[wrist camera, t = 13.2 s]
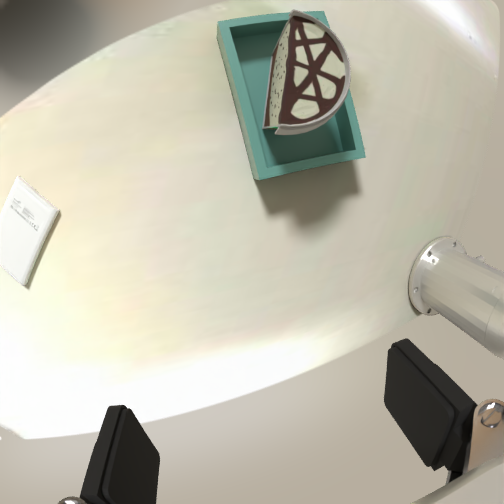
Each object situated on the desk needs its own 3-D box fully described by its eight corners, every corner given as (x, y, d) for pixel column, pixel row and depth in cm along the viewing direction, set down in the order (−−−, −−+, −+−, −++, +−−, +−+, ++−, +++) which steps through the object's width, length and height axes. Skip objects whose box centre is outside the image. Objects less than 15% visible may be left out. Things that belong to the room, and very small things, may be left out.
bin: (311, 25, 30) (323, 11, 25) (348, 157, 35) (365, 157, 30) (216, 37, 29) (217, 21, 25) (253, 178, 34) (259, 180, 30)
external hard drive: (-8, 249, 32) (22, 175, 30) (28, 282, 34) (62, 209, 32) (-14, 252, 30) (15, 175, 29) (23, 286, 33) (56, 211, 31)
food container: (313, 150, 33) (351, 145, 23) (260, 142, 32) (279, 131, 22) (323, 55, 30) (358, 23, 20) (272, 44, 29) (294, 5, 19)
